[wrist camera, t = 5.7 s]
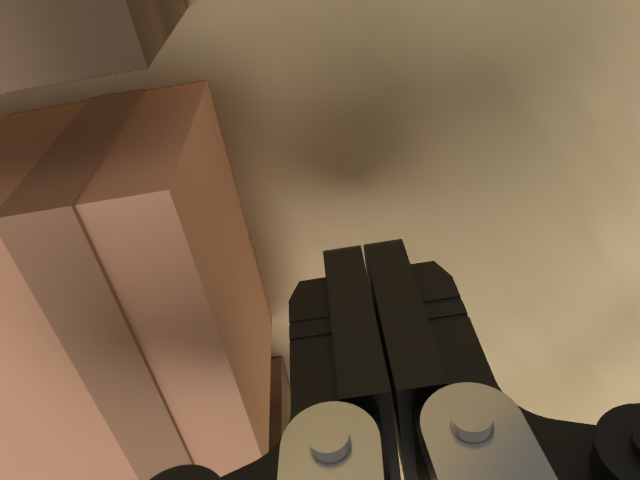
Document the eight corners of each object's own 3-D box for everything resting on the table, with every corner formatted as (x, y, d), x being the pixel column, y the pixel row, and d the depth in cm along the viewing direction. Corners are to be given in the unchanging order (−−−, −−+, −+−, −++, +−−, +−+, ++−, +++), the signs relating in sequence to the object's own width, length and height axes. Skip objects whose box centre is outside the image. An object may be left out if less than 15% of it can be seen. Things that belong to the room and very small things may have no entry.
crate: (207, 77, 12) (166, 189, 8) (271, 318, 16) (268, 480, 12) (-230, 152, 13) (-491, 297, 8) (-62, 370, 17) (-181, 544, 12)
